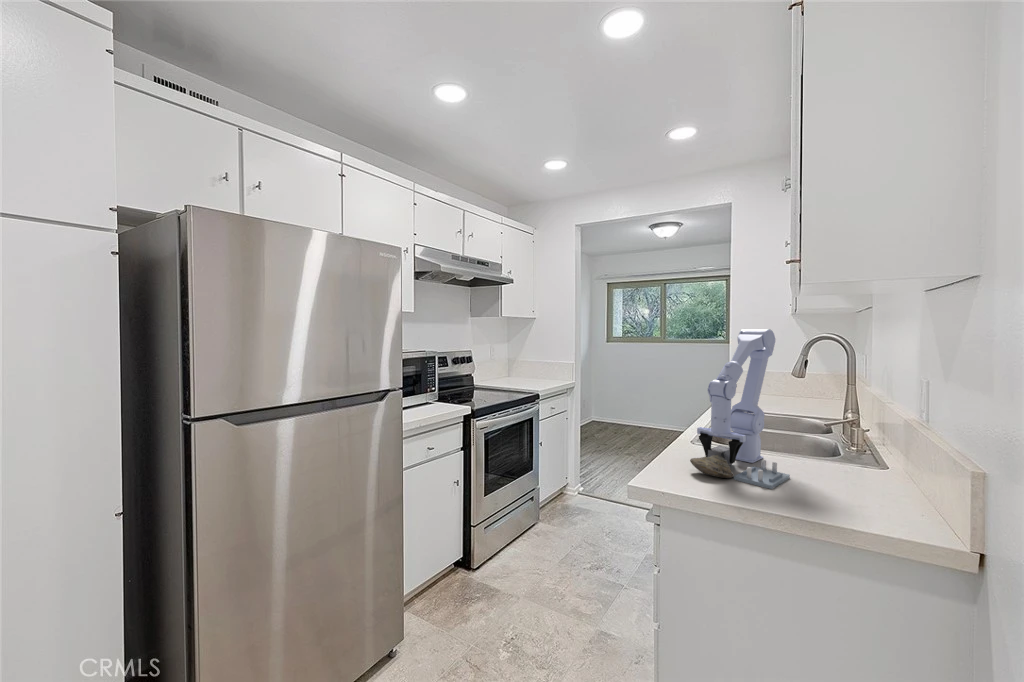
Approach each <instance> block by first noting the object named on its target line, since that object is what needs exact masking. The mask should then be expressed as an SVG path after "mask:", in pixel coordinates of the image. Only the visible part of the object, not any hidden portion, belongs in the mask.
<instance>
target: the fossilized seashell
mask: <svg viewBox="0 0 1024 682" xmlns="http://www.w3.org/2000/svg"><path fill="white" fill-rule="evenodd" d="M690 463H691V465H692V466H693V467H694V468H695V469H696V470H698V471H699V472H701V473H703V474H704V475H707V476H713V477H717V478H724V479H731V478H734V473H733V472H732V470H731V466H729V465H728V463H727V461H726V460H725V459H724V458H723V457H720V456H718V455H716V456H714V455H712V456H711V457H706V456H702V457H693V458H690Z"/></svg>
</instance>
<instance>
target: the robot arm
mask: <svg viewBox="0 0 1024 682" xmlns="http://www.w3.org/2000/svg"><path fill="white" fill-rule="evenodd" d="M775 344H776V336H775V333H774V331H773V329H771V328H767V329H761V328H760V329H759V328H758V329H751V328H749V329H748V328H747V329H746V328H742V329H741V330H740V331H739V333H738V336H737V347H736V349H735V351H734V354H733V355H732V358H731V360H730V361H727V362H725V363H724V365H723V367H722V369H721V370H720V372H719V374H718V375H717V377H716V379H713V380H711V381H710V382H709V383H708V388H707V394H708V396H709V402H710V403H711V412H710V416H711V417H710V427H702V426H699V427H697V428H696V429H697V430H696V434H697V435H698V439H699V441H700V443H701V445H702V448H703V451H704V454H705V455H704V457H708V450H709V449H711V448H712V442H713V437H715V438H716V437H717V438H720V439H721V438H722V439H726V440H730V441H728V447H729V449H730V463H731V464H732V465H733V464H735V463H736V460H737V461H741V462H746V463H751V464H754V463H755V462H757V461H758V462H759V461H761V460H763V459H764V456H762V455H761V449H762V448H761V447H762V445H761V444H762V440H761V438H762V437H761V436H760V434H761V432H763V430H764V427H765V414H766V413H765V412H764V410H763V409H761V407H760V406H759V401H760V398H761V397H760V396H761V392H762V387H763V383H764V380H765V375H766V371H767V366H768V361H769V358H770V357H771V356H773V354H774V350H775V349H774V348H775ZM749 357H750V360H749V365H748V369H747V374H746V378H745V381H744V386H743V390H742V394H741V398H740V401H739V402H737V403H736V404H734V405H732V399H733V398H734V397H735V396H736V392H737V387H738V381H739V380H740V378H741V376H742V374H743V373H744V369H743V365H744V364H745V362H746V361H747V360H748V358H749Z"/></svg>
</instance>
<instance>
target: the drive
mask: <svg viewBox="0 0 1024 682" xmlns="http://www.w3.org/2000/svg"><path fill="white" fill-rule="evenodd" d="M712 455H714V456H716V455H718V456H720V457H723V458H724V459H725V460H726V461H727V463H728V465H729V466H730V467H731V466H732V465H733V464H731V463H730V449H729V446H723V445H717V446H714V447H711V449H709V450H708V457H711V456H712Z"/></svg>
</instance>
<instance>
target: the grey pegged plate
mask: <svg viewBox="0 0 1024 682" xmlns="http://www.w3.org/2000/svg"><path fill="white" fill-rule="evenodd" d="M760 463H761V464H760V465H761V467H759V466H758V467H757V466H747V467H746V469H745V470H743V471H741V472H739V473H737V474H735V475H733V480H735V481H738V482H742V483H745V484H750V485H754V486H758V487H761V488H766V489H769V490H773V489H775V488H776V487H778V486H779V485H781V484H782V483H785V482H786V481H787V480H788V479H790V478H791V477H790V475H791V474H790V473H789V474H788V473H785V472H779V471H778V462H775V461H772V465H771V467H772V468H771V470H770V469H767V460H766V459H761V460H760Z"/></svg>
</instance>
